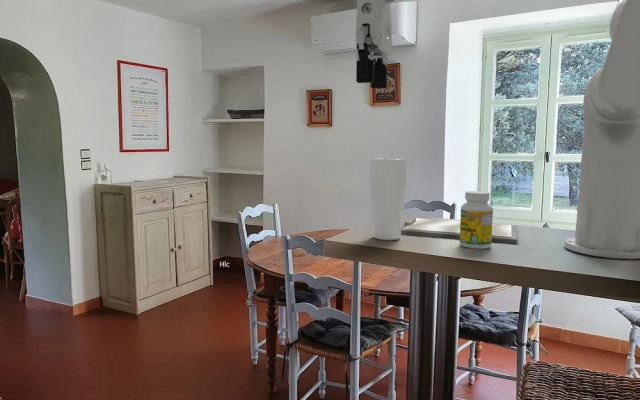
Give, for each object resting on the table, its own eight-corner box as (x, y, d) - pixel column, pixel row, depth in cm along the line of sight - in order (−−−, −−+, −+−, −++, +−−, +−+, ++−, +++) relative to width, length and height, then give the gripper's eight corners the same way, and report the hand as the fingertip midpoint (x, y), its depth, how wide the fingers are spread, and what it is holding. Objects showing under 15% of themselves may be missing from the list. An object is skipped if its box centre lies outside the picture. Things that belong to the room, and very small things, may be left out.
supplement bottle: (497, 247, 84) (500, 193, 83) (475, 250, 81) (478, 194, 80) (474, 241, 88) (477, 190, 87) (452, 244, 86) (455, 191, 85)
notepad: (516, 229, 102) (516, 221, 101) (517, 243, 87) (517, 235, 87) (412, 221, 110) (412, 214, 109) (397, 233, 95) (397, 225, 95)
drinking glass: (393, 243, 86) (396, 159, 84) (361, 238, 90) (363, 158, 88) (410, 237, 91) (413, 159, 89) (380, 233, 95) (382, 157, 94)
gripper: (382, -24, 81) (379, 79, 83) (403, 3, 97) (400, 89, 99) (340, -19, 84) (338, 81, 86) (367, 7, 100) (366, 90, 102)
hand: (372, 85), depth 93 cm, fingers open, 9 cm apart
